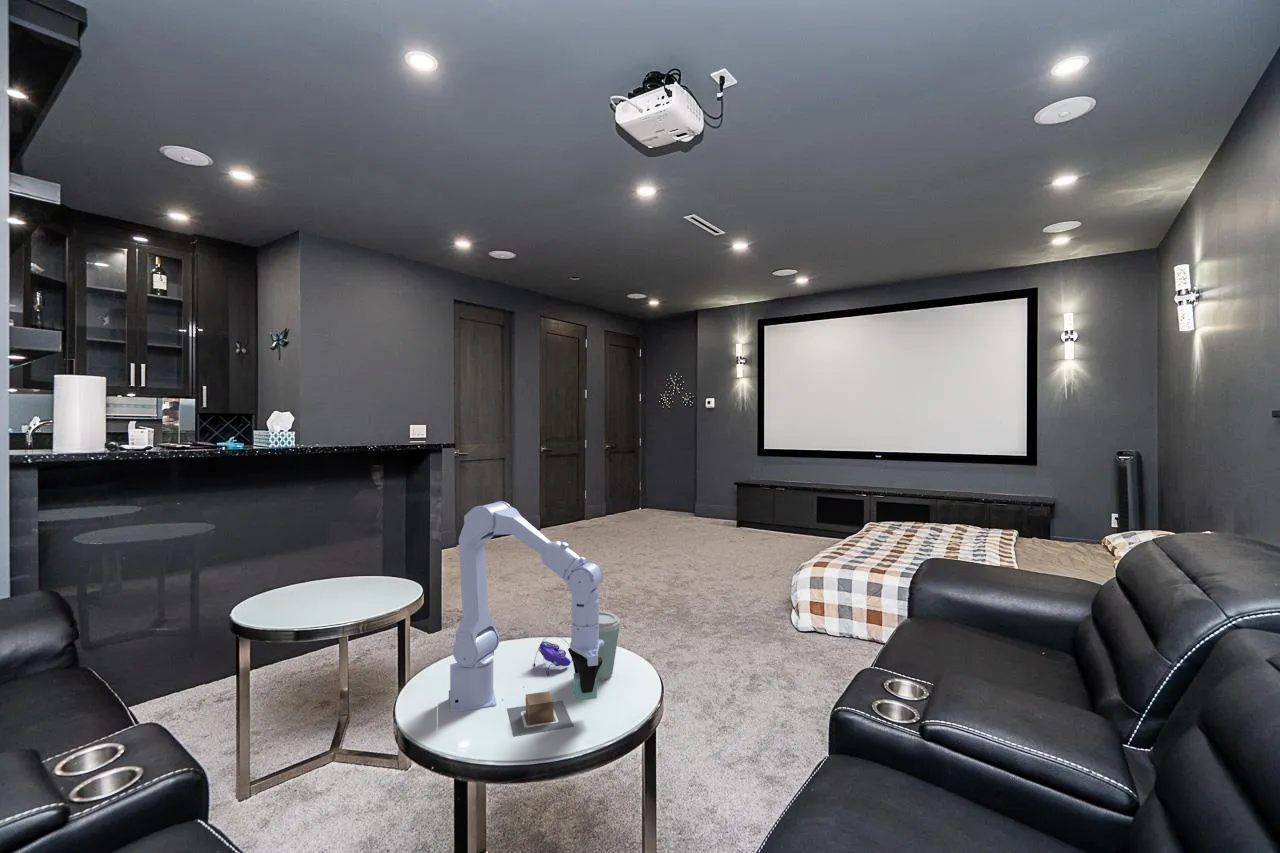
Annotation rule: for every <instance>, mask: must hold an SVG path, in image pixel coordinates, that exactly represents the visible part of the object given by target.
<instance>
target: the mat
mask: <svg viewBox="0 0 1280 853" xmlns="http://www.w3.org/2000/svg"><path fill="white" fill-rule="evenodd" d="M553 701H554V721H551V722H544V723H538V724H532V725H529V723H528V720H527V716H526V705H521V706H516V707H514V706H513V707H509V708H508V707H507V708H506V710H507V715H508V720H509V725H510V728H511V732H512V737H519V736H525V735H533V734H539V733H544V732H551V731H556V730H562V729H568V728H569V729H570V728H574V724H573V721H572V719H571V717H570V715H569V712H568V710H567V707H566V705H565V704H564V701H563V699H562V700H557V701H555V700H553Z"/></svg>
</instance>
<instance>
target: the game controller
mask: <svg viewBox="0 0 1280 853" xmlns="http://www.w3.org/2000/svg"><path fill="white" fill-rule="evenodd" d="M549 637H550V635H548V636H545V638H544V639H543V640H542V642H541V643H540V644H539V646H538V648H537V651H536V654H535V658H534V659H536V658H537V655H538V652H539V653H540V654H541V655H542V660H543V661H546V662H548V663H549V662H550V664H549V665H548V668H546V667H544V669H545V672H546V676H547V677H549V676H550V675H549V673H548V671H549V668H550V666H552V665H554V666H556V667H559V666H561V667H567V666H570V664H571V663H573V661H572V660H570V659H569V658H568V657H567V656H566V655H567V652H566V651H565V650H563V649H560V646H559V645H558V644H557V643H551V642H549V641H547V640H546V639H547V638H549ZM556 637H557V638H560V639H562V641H564V642H566V640H565V639H564V638H562V637H560V636H559V635H558V636H557V635H556ZM567 644H568V647H570V643H567ZM543 664H544V665H543V666H546V665H545V663H543ZM536 665H537V664H536V660H534V661H533V664H532V667H533V668H536Z"/></svg>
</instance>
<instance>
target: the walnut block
mask: <svg viewBox="0 0 1280 853" xmlns="http://www.w3.org/2000/svg"><path fill="white" fill-rule="evenodd" d="M554 701H555V700H553V697H552V694H551V692H550V690H548V691H547V690H546V691H541V692H535V693H527V694H526V693H525V706H526V716H527V720H528V723H529V725H532V724H538V723H544V722H551V721H554Z"/></svg>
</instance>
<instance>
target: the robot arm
mask: <svg viewBox="0 0 1280 853" xmlns="http://www.w3.org/2000/svg"><path fill="white" fill-rule="evenodd" d="M463 521H464V522H463V523H464V524H463V526H462V529H461V532H460V534H459V536H458V551H459V570H460V588H461V589H460V590H461V607H462V620H461V622H460V624H458V627H457V629H456V631H455V640H454V644H453V646H452V654H453V658H454V660H455V662H454V663H451V664H450V665H449V666H450V667H449V669H450V671H449V674H450V675H449V679H450V680H449V681H450V682H449V690H448V700H450V703H449V704H450V713H457V712H464V711H471V710H472V711H473V710H478V709H486V708H493V707H496V706H497V699H496V694H495V690H494V656H495V651H496V649H497V648H498V647H499V644H500V636H499V632H498V630H497V629H496V628H497V627H496V622H495V619H494V618H493V617H492V616H490V615H489V602H488V601H489V599H488V583H487V566H486V561H487V560H486V544H487V543H489V541H490V540H491V539H492V538H493V537H495V535H511V536H513V537H514V538H516V539H518V540H519V541H520V542H521V543H524V545H526V546H528V547H529V548H531V549H532V550H533V551H535V552H536V553H538V554H539V555H540V557H541V562H542V564H543V565H544V566H545V567H547V568H548V569H550V570H551V571H552V572H553V573H554V574H556V575H557V576H558V577H559V578H561V579H562V580H564V581H565V582H566V585H567V589H568V590H569V591H570V593H571V607H570V608H571V613H570V615H571V623H570V625H571V626H570V627H571V628H570V629H571V631H570V632H571V633H570V634H571V636H570V639H571V640H570V643H569V645H570V646H569V648H568V649H567V651H568V652H569V655H570V657H571V661H572V664H573V671H574V673H579V678H580V686H581V690H582V693H590V692H592V691H593V688H594V683H595V679H596V675H597V672H598V670H599V668H600V666H601V665H602V661H603V660H602V658H601V657H598V651H599V647H600V646H604V641H603V640H599V611H600V587H599V586H600V585H601V583H602V582H603V579H604V573H603V570H602V567H601V566H600V565H599V564H598V563H597V562H596V561H595V560H587V558H585V556H581V555H578V553H577V552H575V551H574V550H572V549H570V548H569V546H570V545H569V543H568V542H566V541H563V542H562V541H560V540H556V541H551V540H550V539H549V538H548V537H547V536H545V535H544V534H543V533H542V532H541V531H539V530H538V529H537V528H536V527H535V526H533V525H532V524H531V523H530V522H528V520H527V519H526V518H524V517H523V516H522V515H521V514H520V512H519V511H518V509H517V508H516V507H513V506H511V505H510V504H509V503H508V502H506V501H503V500H502V501H501V500H499V501H494V502H493V503H489V504H485V505H484V504H483V505H477V506H474V507H473V508H471V510H469V511H468V512H467V513H466V514H465V515H464V516H463Z"/></svg>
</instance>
